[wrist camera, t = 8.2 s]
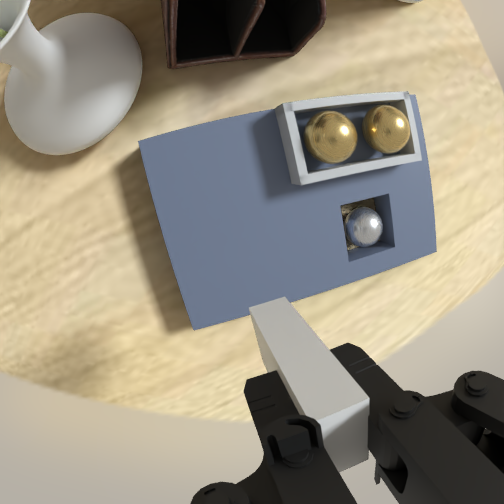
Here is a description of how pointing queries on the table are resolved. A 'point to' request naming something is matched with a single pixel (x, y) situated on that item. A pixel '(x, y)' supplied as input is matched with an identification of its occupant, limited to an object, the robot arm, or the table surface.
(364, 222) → the steel ball
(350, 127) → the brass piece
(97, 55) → the flower in vase
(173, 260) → the deck
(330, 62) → the table surface
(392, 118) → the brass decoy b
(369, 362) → the robot arm
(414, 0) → the supplement tub
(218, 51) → the letter holder
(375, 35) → the table surface
